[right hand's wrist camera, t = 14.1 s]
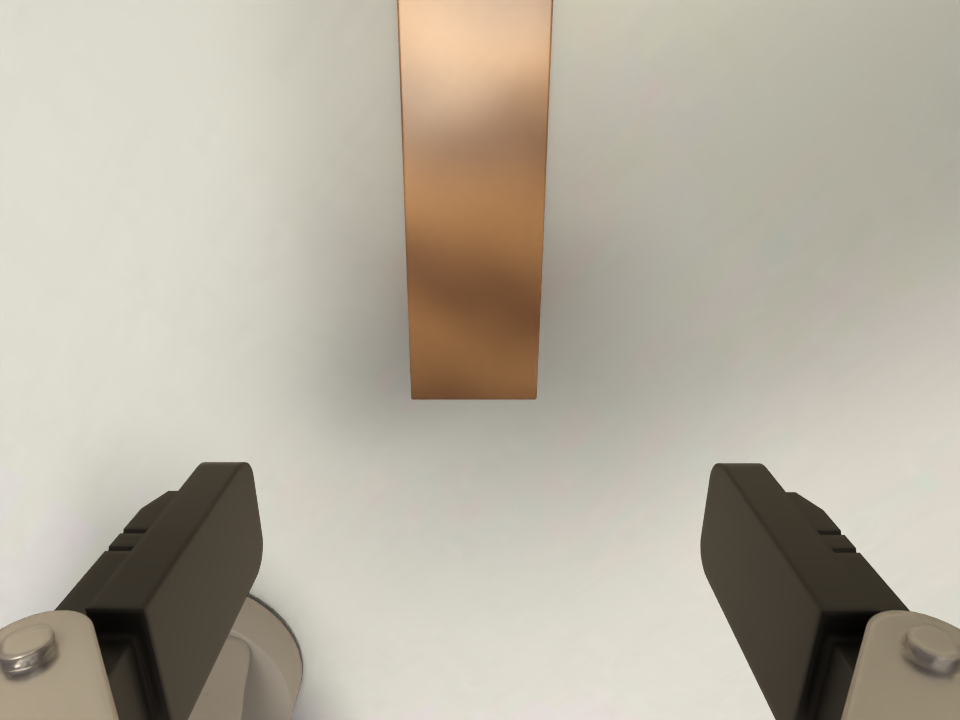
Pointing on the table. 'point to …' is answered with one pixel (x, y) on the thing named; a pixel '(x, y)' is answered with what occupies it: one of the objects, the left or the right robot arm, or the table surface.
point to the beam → (474, 192)
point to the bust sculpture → (252, 671)
